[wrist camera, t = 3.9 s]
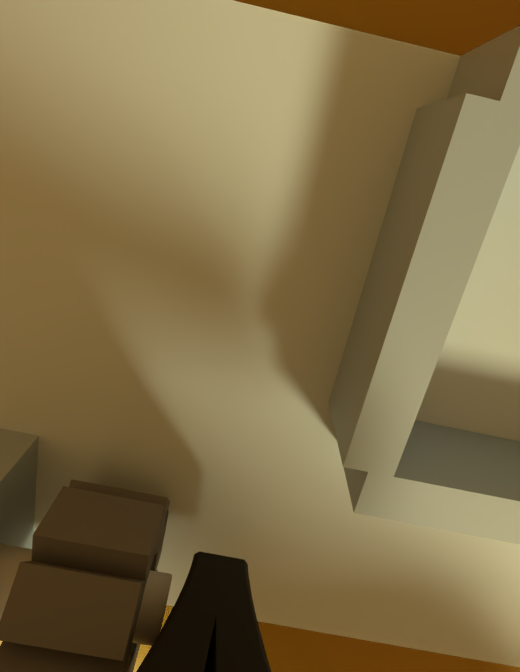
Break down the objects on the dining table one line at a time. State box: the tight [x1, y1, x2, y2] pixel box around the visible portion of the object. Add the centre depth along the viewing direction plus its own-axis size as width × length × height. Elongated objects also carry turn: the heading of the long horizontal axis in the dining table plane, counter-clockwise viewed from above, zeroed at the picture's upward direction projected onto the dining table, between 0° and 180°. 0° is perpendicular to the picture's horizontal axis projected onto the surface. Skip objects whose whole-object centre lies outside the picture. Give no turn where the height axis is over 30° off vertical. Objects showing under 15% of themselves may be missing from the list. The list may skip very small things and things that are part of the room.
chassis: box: [0, 0, 520, 667], centre depth 10 cm, size 15×17×5 cm
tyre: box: [0, 479, 170, 672], centre depth 10 cm, size 4×2×4 cm, turn 168°
